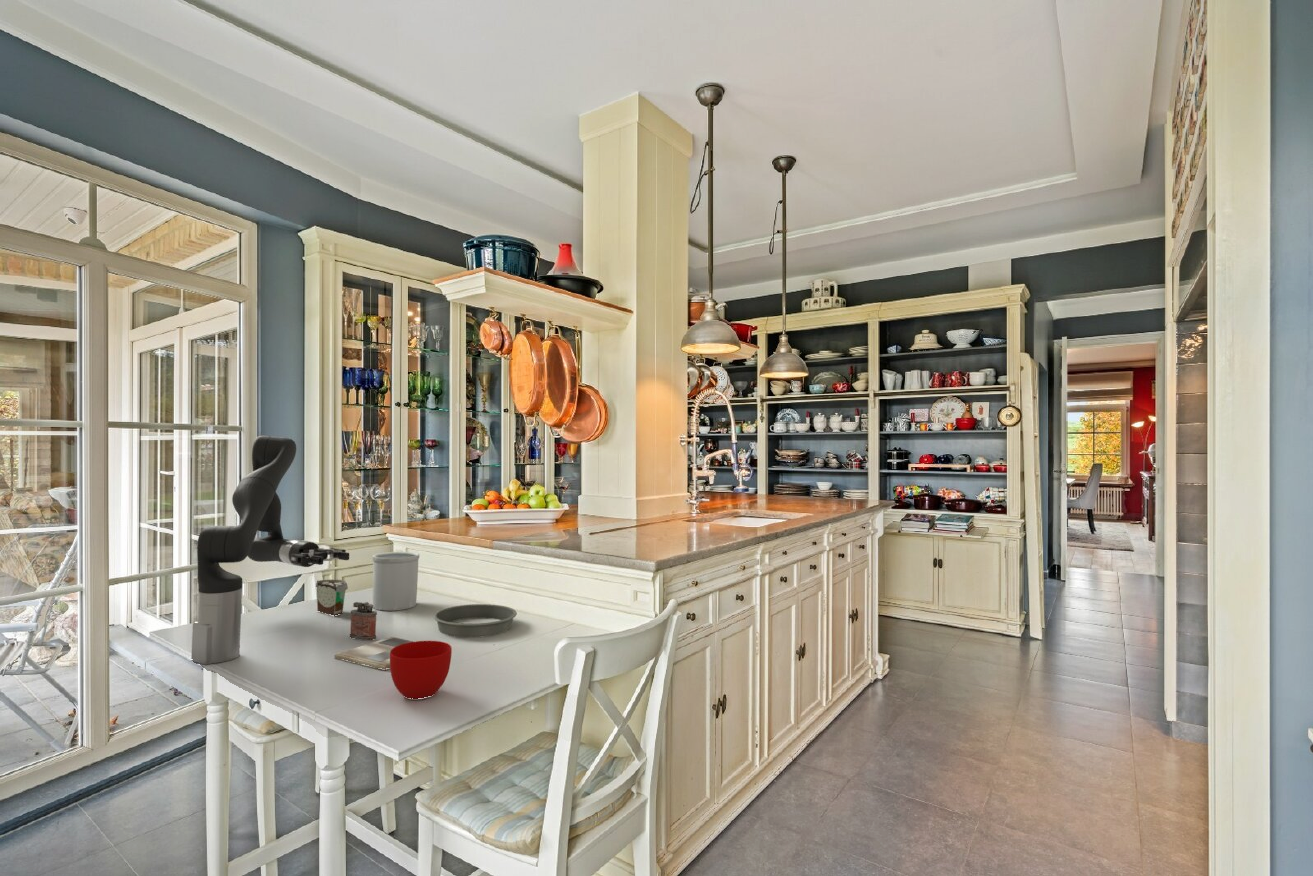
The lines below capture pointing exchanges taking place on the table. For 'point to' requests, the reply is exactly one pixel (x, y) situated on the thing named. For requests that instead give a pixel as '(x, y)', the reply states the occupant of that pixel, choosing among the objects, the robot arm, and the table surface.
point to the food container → (331, 596)
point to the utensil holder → (395, 580)
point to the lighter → (363, 621)
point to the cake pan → (457, 629)
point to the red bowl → (420, 667)
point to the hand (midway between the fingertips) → (335, 558)
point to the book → (373, 653)
